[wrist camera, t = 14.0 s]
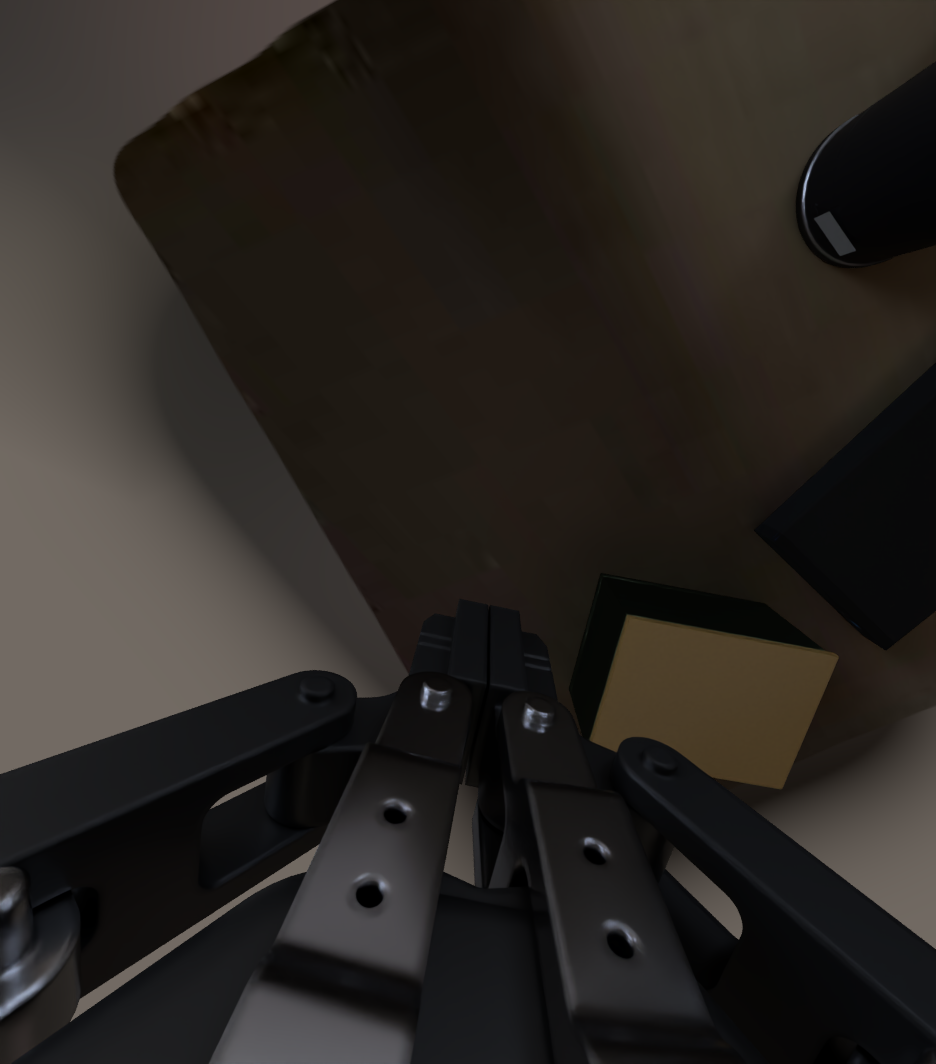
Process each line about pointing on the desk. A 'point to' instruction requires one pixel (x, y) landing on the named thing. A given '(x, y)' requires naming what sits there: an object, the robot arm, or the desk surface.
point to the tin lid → (713, 698)
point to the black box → (669, 606)
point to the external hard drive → (871, 521)
